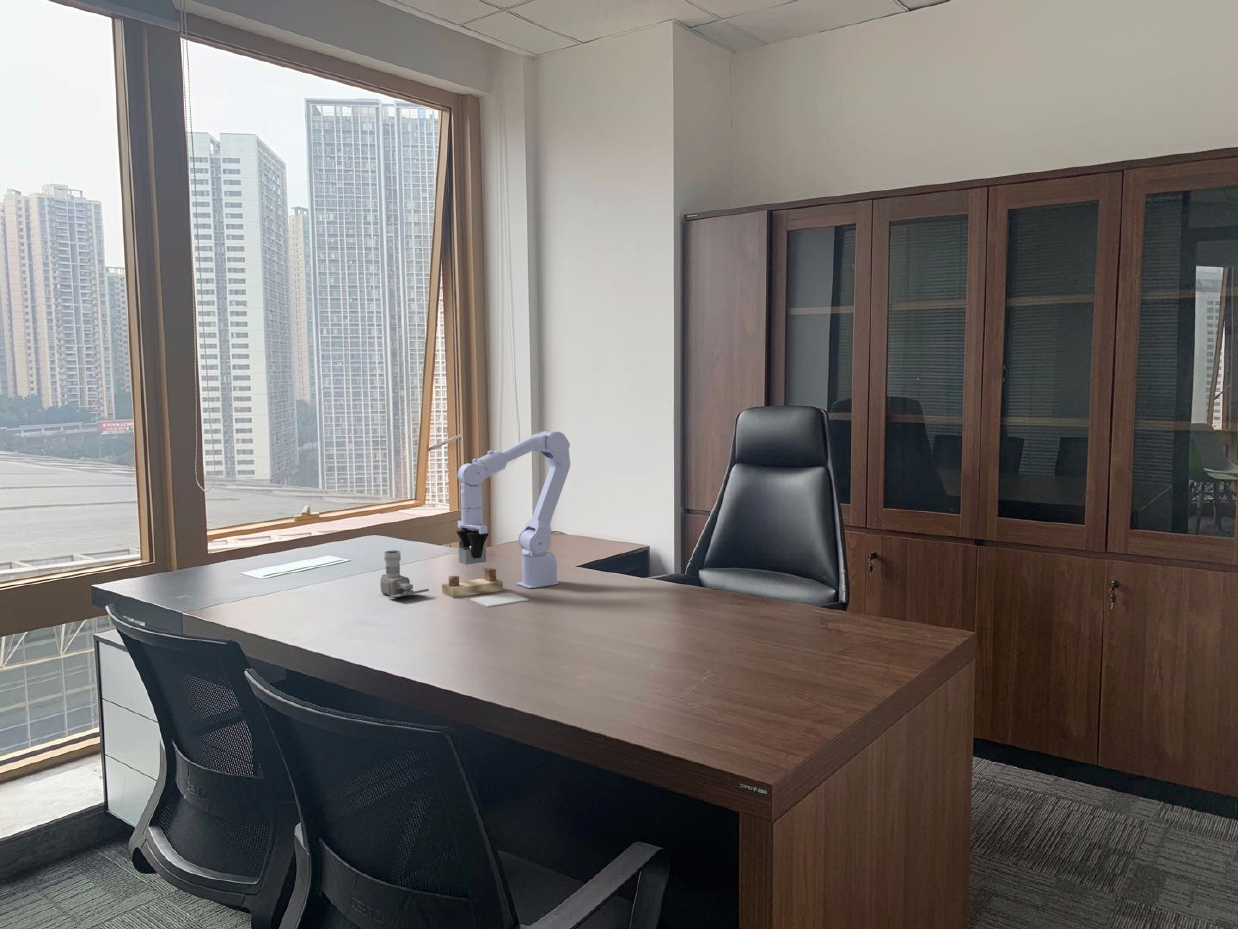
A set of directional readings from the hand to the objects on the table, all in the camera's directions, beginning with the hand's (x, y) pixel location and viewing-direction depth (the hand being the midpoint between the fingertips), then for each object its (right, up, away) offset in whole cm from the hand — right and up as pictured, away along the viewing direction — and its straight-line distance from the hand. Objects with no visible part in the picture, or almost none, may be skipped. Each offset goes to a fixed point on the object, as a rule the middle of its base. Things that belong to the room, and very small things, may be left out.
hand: (473, 556), depth 256 cm
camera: (-19, -11, -3) cm, 22 cm away
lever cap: (0, -2, 0) cm, 2 cm away
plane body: (0, -10, +1) cm, 10 cm away
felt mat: (+8, -11, -10) cm, 17 cm away
